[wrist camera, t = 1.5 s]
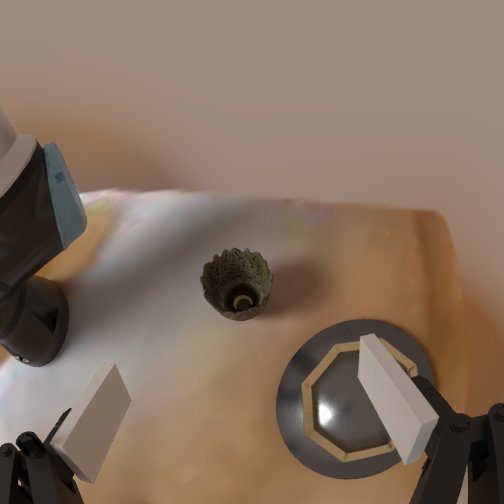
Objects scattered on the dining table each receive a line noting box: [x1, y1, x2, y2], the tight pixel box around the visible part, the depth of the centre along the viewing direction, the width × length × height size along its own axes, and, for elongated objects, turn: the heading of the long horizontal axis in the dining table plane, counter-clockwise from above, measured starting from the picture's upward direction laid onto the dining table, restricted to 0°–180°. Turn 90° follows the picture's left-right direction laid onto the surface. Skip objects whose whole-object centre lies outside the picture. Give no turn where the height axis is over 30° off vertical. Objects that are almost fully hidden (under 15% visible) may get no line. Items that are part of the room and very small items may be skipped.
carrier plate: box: [276, 320, 435, 479], centre depth 27 cm, size 20×20×2 cm
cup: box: [200, 248, 273, 321], centre depth 32 cm, size 8×7×8 cm
